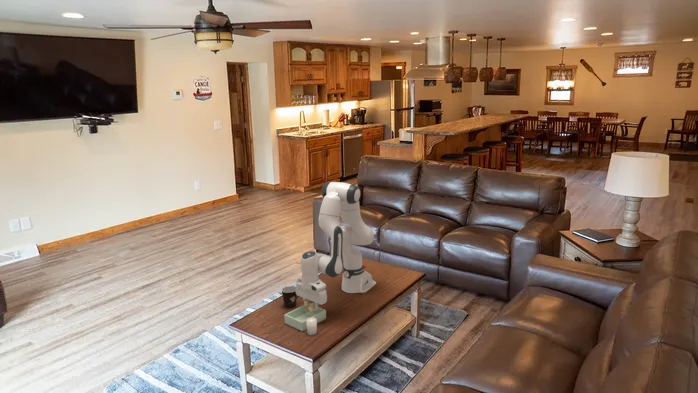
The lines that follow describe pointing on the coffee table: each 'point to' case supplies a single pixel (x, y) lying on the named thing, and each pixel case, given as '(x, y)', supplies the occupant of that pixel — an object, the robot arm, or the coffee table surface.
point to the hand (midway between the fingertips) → (311, 307)
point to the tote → (303, 317)
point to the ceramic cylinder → (311, 325)
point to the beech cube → (309, 306)
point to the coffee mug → (289, 296)
